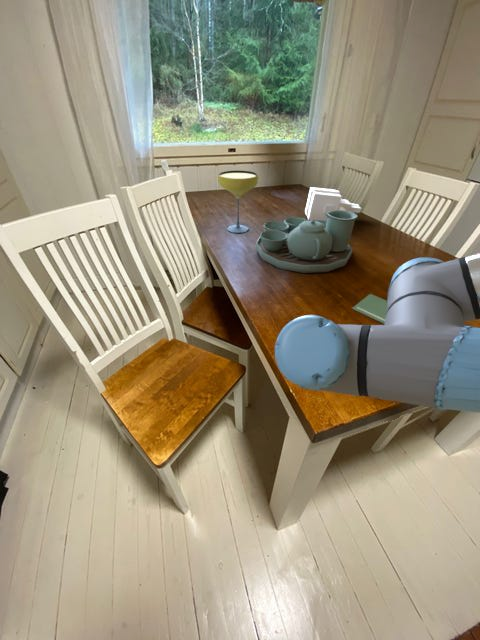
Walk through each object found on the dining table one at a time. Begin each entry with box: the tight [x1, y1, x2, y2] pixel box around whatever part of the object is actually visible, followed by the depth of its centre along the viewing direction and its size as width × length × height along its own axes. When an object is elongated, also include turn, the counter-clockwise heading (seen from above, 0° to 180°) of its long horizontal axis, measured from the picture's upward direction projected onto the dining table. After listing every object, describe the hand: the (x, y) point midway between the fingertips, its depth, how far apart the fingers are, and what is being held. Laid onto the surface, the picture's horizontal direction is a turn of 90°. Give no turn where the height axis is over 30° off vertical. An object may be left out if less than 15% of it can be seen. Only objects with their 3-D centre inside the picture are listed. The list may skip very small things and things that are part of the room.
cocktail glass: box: [217, 170, 259, 234], centre depth 130 cm, size 18×18×25 cm
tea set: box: [255, 210, 358, 274], centre depth 112 cm, size 40×40×16 cm
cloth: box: [351, 293, 388, 325], centre depth 84 cm, size 18×12×1 cm, turn 43°
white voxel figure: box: [304, 186, 362, 221], centre depth 148 cm, size 15×25×28 cm
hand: (359, 377), depth 59 cm, fingers closed
